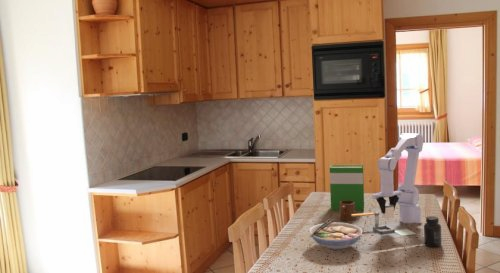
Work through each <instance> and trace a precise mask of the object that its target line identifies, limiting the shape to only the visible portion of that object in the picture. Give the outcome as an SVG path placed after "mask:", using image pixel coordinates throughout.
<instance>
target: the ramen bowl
mask: <svg viewBox="0 0 500 273" xmlns="http://www.w3.org/2000/svg"><path fill="white" fill-rule="evenodd" d="M334 221H335V219H334V218H332V219H331V218H327V220H325V222H324V223H319V224H316V225H314V226H311V227H310V229H309V230H308V232H309V233H310V236H309V238H312V239H313V241H314V242H316V243H317V244H318V245H319V246H321V247H324V248H328V249H329V250H333V251H339V250H343V249H347V248H350V247H351V246H353V245H355V244H356V243H357V242H358V241H359V240H360V238H361V236H362V234H363V230H364V229H363V228H362V227H359V226H358V225H355V224H351V223H346V222H334ZM362 229H363V230H362Z"/></svg>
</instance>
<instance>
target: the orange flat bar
mask: <svg viewBox="0 0 500 273" xmlns="http://www.w3.org/2000/svg"><path fill="white" fill-rule="evenodd" d="M375 215H379V216H380V211H374V212H364V213H355V214H351V216H355V217H363V216H375Z"/></svg>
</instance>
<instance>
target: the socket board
mask: <svg viewBox="0 0 500 273" xmlns="http://www.w3.org/2000/svg"><path fill="white" fill-rule="evenodd" d="M379 216H380V214H379V215H374V225H370V226H364V227H362V229H363V230H364V231H366V232H368V233H369V234H371V235H372V236H375V237H376V238H378V239H379V240H381V241H383V240H389V239H395V238H401V237H403V238H404V237H409V236H415V235H417V233H416V232H414V231H412V230H410V229H408V228H406V227H404V226H402V225H400V224H398V223H396V222H392V223H391V222H390V223H385V224H380V221H379V220H380V218H379Z"/></svg>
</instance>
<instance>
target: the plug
mask: <svg viewBox="0 0 500 273" xmlns="http://www.w3.org/2000/svg"><path fill="white" fill-rule="evenodd" d="M381 217H382V218H384V219H387V220H388V219H394V218H395V209H394V205H393V204H390V202H386V204H385V214H383V213H381Z"/></svg>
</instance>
